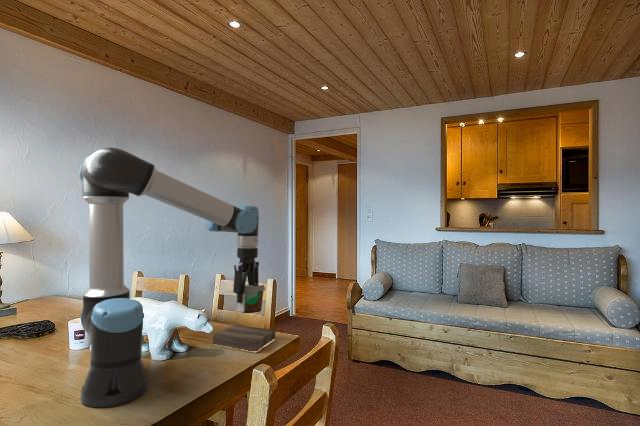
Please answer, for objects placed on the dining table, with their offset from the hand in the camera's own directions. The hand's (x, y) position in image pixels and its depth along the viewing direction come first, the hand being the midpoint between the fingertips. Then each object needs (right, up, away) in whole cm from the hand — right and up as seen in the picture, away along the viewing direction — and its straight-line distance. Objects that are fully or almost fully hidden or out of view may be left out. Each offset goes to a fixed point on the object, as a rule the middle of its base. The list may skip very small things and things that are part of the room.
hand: (245, 309), depth 133 cm
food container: (0, -1, 0) cm, 1 cm away
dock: (0, -13, 0) cm, 13 cm away
